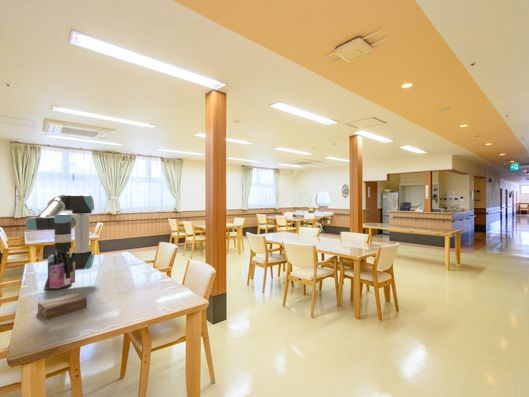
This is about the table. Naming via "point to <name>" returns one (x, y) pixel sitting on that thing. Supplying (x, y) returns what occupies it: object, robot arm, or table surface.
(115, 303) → the table surface
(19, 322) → the table surface
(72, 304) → the block
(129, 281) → the table surface
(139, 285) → the table surface
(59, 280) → the box
